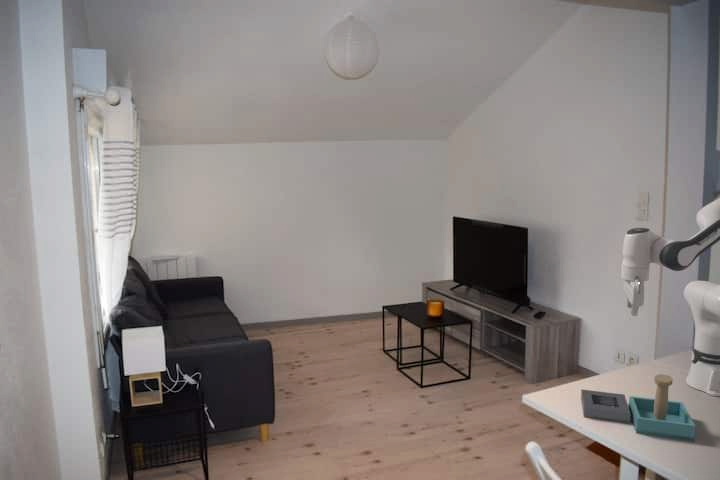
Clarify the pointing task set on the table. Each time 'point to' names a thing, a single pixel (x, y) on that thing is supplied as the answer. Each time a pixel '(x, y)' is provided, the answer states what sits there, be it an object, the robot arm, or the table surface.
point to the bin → (673, 427)
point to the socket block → (605, 412)
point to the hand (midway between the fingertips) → (632, 311)
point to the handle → (661, 396)
